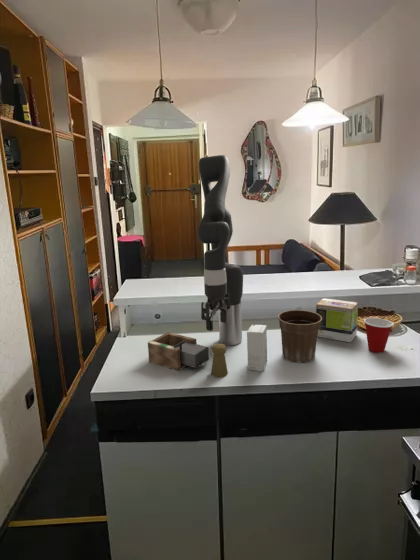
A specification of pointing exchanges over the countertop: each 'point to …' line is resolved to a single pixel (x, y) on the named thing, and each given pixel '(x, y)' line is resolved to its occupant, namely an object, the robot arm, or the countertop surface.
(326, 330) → the tea box
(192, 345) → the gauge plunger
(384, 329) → the plastic cup
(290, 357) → the plant pot
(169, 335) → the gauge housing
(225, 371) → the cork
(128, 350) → the countertop surface
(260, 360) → the skincare box
